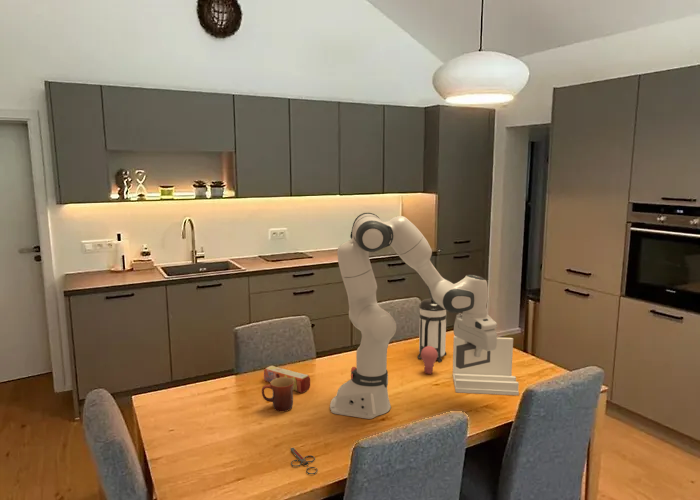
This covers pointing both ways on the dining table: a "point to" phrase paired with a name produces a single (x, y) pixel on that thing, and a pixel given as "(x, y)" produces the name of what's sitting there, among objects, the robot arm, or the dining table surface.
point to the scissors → (302, 460)
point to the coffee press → (432, 327)
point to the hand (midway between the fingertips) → (473, 354)
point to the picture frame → (470, 356)
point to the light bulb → (429, 358)
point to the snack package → (299, 379)
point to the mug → (281, 393)
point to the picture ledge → (487, 372)
